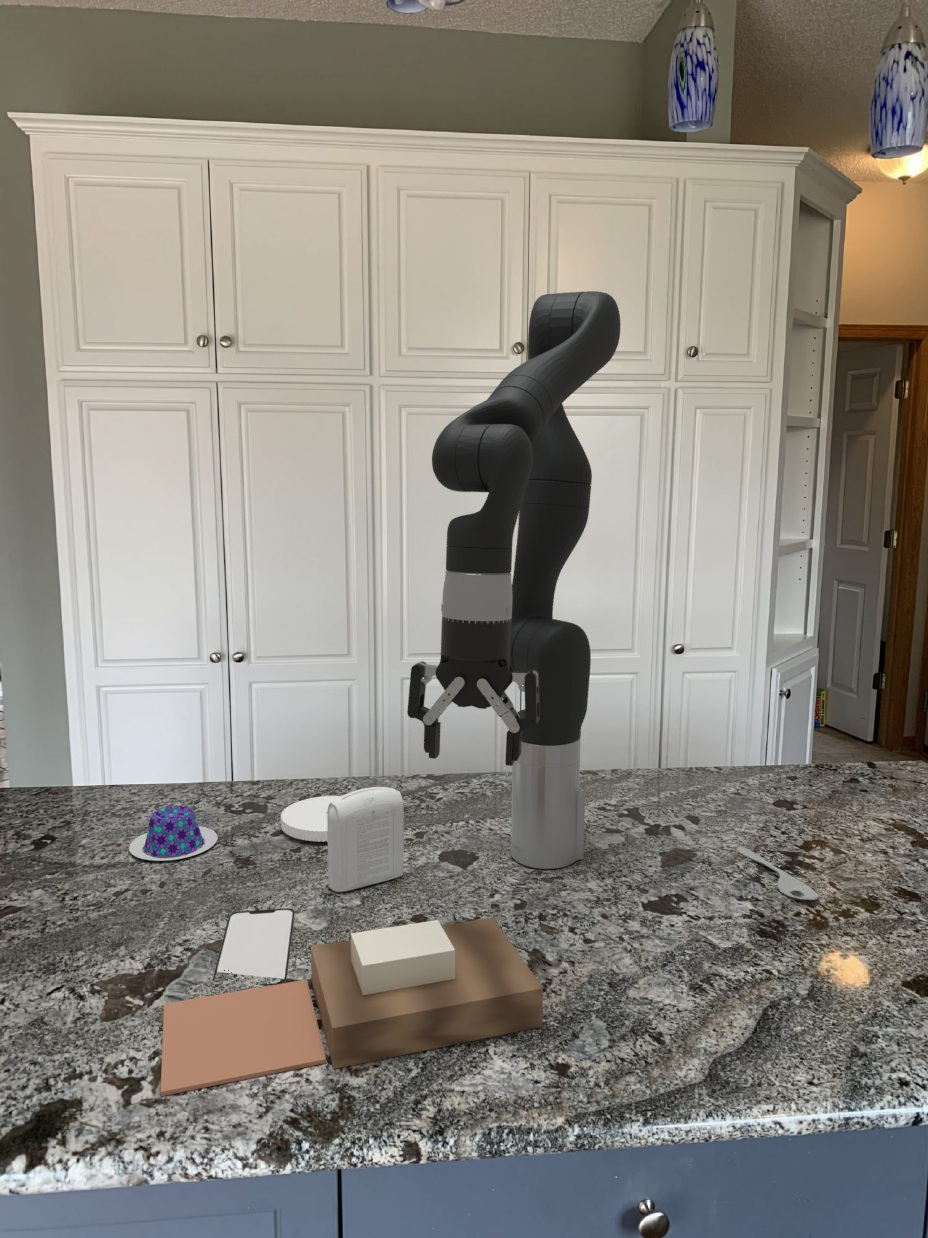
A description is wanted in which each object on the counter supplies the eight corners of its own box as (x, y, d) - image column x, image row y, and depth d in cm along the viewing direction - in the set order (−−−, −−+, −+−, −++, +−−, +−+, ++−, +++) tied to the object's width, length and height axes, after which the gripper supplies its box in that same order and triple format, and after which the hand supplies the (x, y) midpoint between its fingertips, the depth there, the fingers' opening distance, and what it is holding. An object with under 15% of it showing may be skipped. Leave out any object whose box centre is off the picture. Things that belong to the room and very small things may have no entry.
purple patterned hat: (110, 857, 120) (107, 821, 119) (169, 825, 131) (167, 792, 130) (179, 872, 115) (177, 835, 115) (235, 837, 126) (233, 803, 126)
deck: (493, 951, 96) (493, 917, 95) (542, 1026, 83) (543, 988, 82) (311, 982, 90) (310, 946, 89) (333, 1069, 77) (332, 1028, 76)
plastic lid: (362, 806, 139) (362, 791, 138) (386, 840, 126) (385, 823, 125) (274, 818, 134) (274, 802, 133) (289, 854, 121) (288, 837, 120)
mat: (306, 983, 90) (306, 979, 90) (326, 1063, 77) (326, 1059, 77) (164, 1007, 85) (164, 1004, 85) (160, 1096, 73) (160, 1092, 73)
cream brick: (437, 947, 89) (437, 920, 89) (455, 978, 83) (455, 950, 83) (351, 961, 86) (350, 933, 86) (363, 995, 81) (362, 965, 80)
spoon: (798, 912, 106) (799, 899, 105) (716, 842, 125) (716, 831, 125) (828, 908, 106) (829, 896, 106) (742, 840, 126) (742, 829, 126)
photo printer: (393, 864, 117) (392, 777, 115) (409, 877, 114) (408, 787, 111) (323, 884, 111) (320, 792, 109) (337, 897, 108) (335, 803, 106)
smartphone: (287, 989, 89) (295, 911, 105) (286, 984, 89) (295, 907, 105) (208, 995, 88) (229, 915, 104) (208, 990, 88) (229, 911, 104)
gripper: (547, 614, 95) (540, 757, 97) (422, 606, 98) (418, 745, 100) (538, 621, 88) (530, 777, 90) (403, 613, 91) (399, 763, 93)
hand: (471, 760), depth 95 cm, fingers open, 8 cm apart
